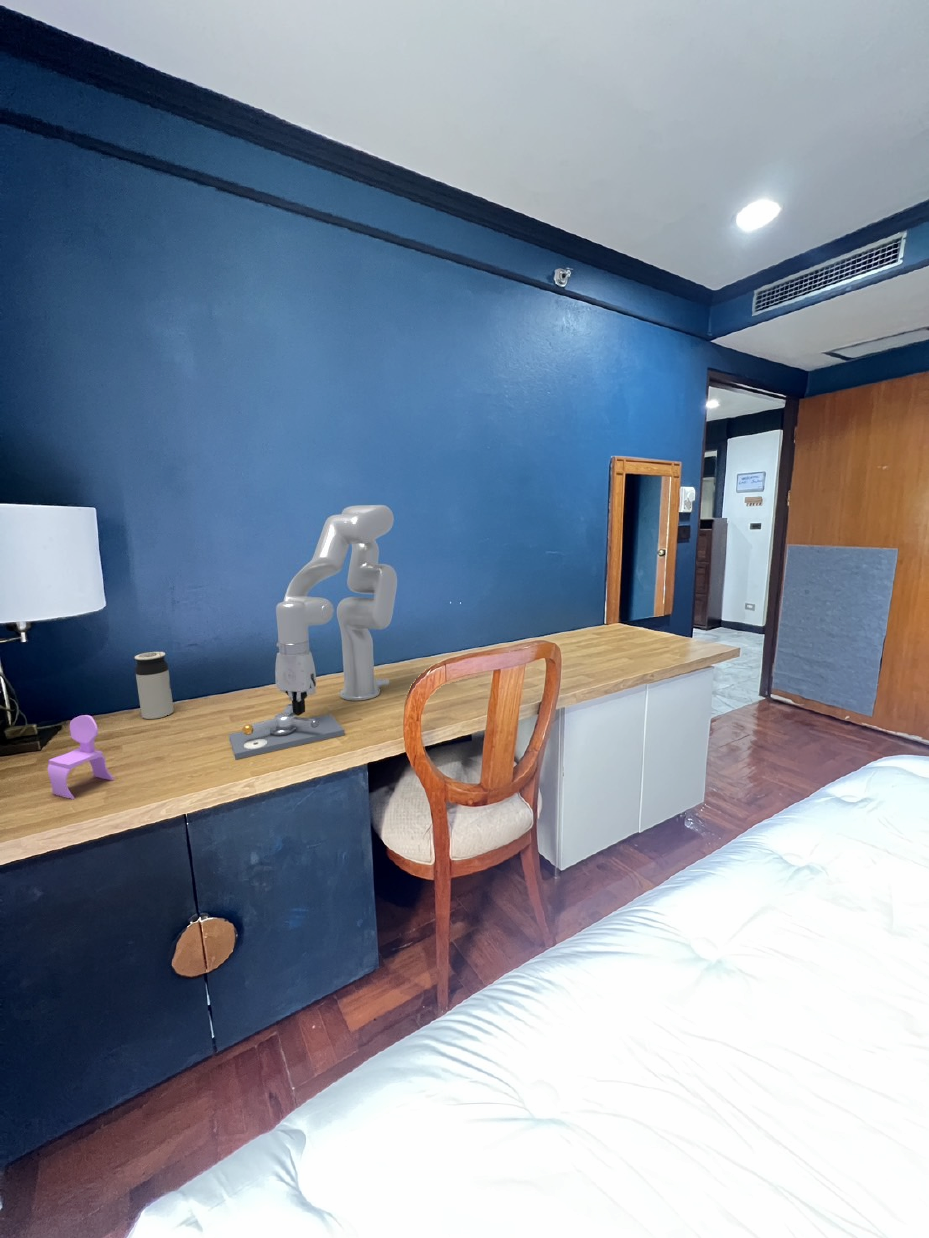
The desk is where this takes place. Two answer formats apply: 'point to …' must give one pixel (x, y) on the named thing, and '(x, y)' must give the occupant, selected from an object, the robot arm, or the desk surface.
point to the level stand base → (284, 738)
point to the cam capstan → (281, 723)
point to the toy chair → (78, 756)
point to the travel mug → (153, 685)
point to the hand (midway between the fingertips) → (299, 713)
